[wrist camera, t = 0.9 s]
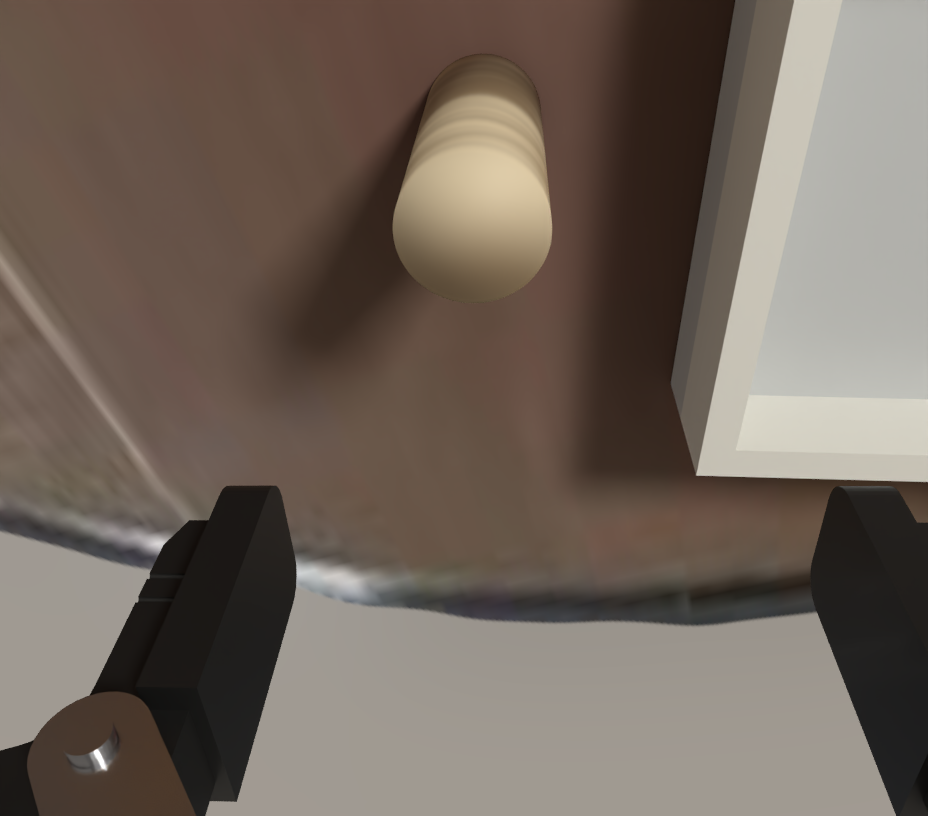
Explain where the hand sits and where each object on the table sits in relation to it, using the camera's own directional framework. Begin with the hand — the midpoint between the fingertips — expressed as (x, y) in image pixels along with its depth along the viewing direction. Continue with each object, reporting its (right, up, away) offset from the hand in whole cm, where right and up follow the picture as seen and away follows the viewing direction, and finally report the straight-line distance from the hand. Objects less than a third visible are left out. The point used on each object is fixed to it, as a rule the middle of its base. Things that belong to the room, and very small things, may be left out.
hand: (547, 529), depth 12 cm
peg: (-1, +12, +17) cm, 21 cm away
